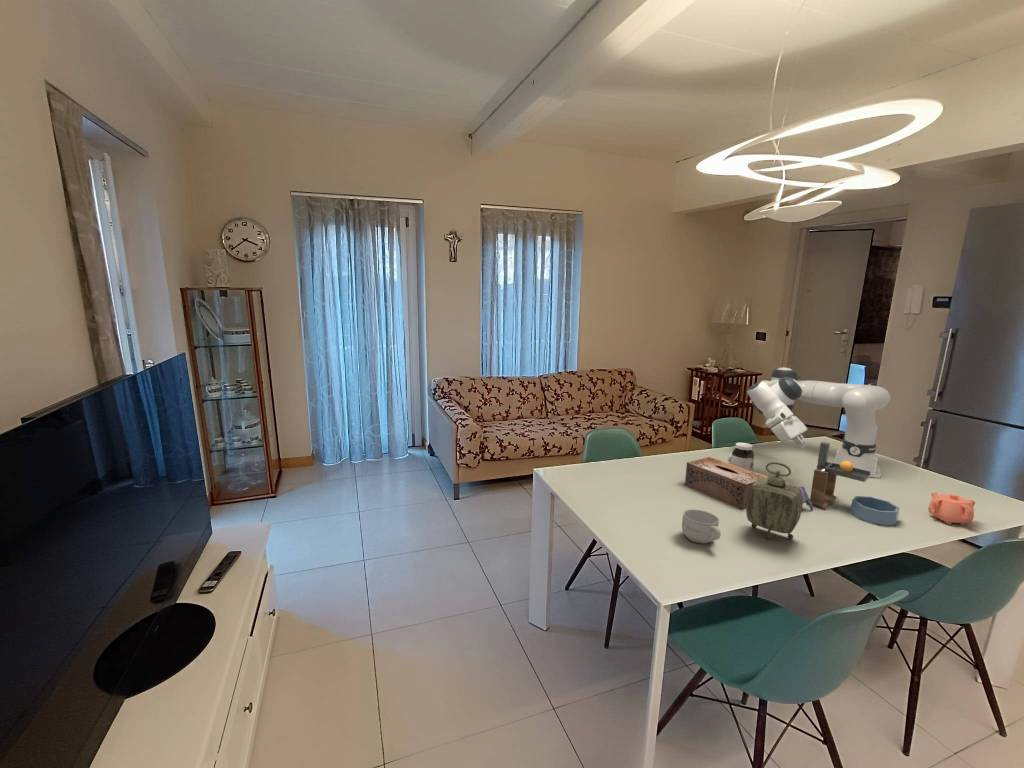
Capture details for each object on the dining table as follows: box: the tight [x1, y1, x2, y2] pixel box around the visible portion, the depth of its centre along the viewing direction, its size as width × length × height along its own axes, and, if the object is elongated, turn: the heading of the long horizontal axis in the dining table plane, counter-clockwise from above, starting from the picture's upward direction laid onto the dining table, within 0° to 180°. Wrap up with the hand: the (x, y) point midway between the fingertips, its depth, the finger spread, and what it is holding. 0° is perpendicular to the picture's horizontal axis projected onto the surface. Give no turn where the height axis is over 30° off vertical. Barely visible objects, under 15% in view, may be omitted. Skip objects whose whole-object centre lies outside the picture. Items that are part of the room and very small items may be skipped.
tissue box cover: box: [684, 456, 770, 510], centre depth 182 cm, size 26×14×10 cm, turn 31°
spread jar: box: [727, 442, 755, 471], centre depth 209 cm, size 12×11×12 cm
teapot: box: [927, 492, 976, 526], centre depth 161 cm, size 12×12×10 cm
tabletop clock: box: [745, 461, 804, 540], centre depth 147 cm, size 14×9×25 cm, turn 48°
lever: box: [816, 441, 871, 483], centre depth 169 cm, size 10×15×11 cm, turn 42°
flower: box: [797, 486, 814, 511], centre depth 170 cm, size 9×9×10 cm
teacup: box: [681, 508, 722, 544], centre depth 145 cm, size 14×11×8 cm
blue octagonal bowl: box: [850, 495, 901, 527], centre depth 163 cm, size 13×13×5 cm
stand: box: [805, 461, 838, 511], centre depth 174 cm, size 15×6×14 cm, turn 132°
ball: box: [840, 461, 853, 472], centre depth 168 cm, size 4×4×4 cm
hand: (804, 446), depth 178 cm, fingers closed
